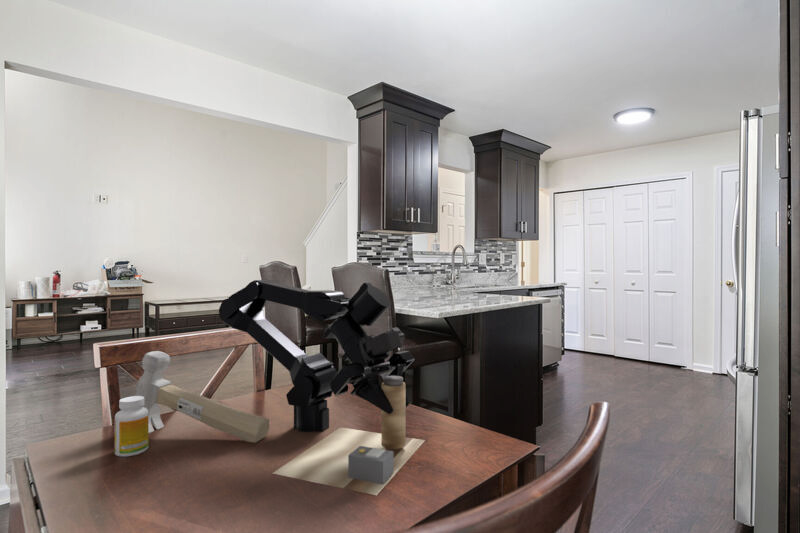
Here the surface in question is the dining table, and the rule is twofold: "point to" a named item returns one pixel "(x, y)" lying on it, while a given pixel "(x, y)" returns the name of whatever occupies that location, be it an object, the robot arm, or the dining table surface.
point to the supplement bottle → (131, 427)
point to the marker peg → (394, 413)
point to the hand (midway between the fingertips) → (399, 409)
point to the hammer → (193, 403)
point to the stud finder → (370, 464)
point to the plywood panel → (343, 460)
